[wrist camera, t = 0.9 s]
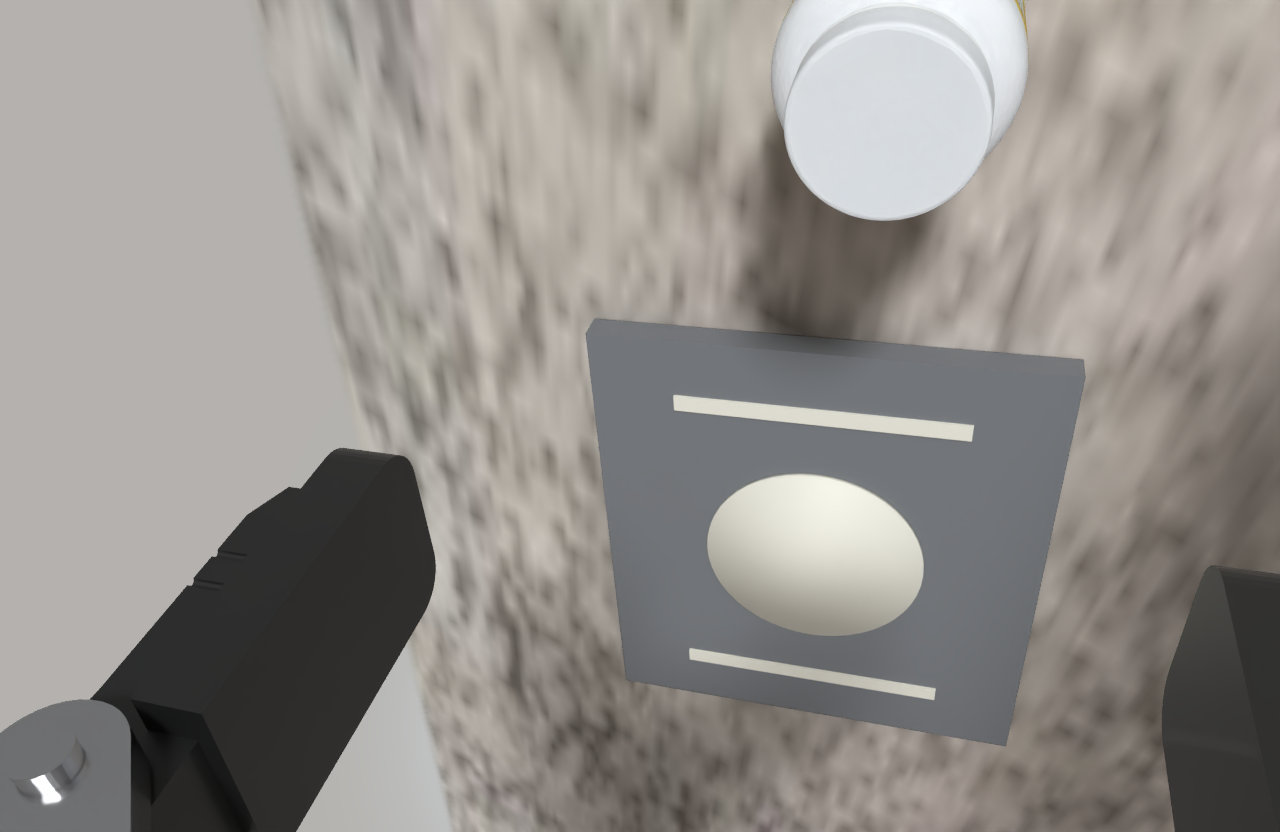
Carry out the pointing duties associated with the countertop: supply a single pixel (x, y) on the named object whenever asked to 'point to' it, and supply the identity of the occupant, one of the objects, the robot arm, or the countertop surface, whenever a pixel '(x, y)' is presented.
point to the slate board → (830, 517)
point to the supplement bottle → (896, 97)
